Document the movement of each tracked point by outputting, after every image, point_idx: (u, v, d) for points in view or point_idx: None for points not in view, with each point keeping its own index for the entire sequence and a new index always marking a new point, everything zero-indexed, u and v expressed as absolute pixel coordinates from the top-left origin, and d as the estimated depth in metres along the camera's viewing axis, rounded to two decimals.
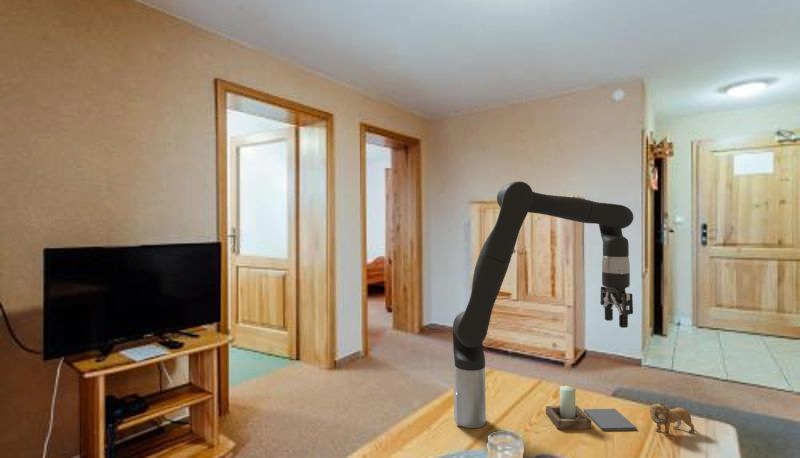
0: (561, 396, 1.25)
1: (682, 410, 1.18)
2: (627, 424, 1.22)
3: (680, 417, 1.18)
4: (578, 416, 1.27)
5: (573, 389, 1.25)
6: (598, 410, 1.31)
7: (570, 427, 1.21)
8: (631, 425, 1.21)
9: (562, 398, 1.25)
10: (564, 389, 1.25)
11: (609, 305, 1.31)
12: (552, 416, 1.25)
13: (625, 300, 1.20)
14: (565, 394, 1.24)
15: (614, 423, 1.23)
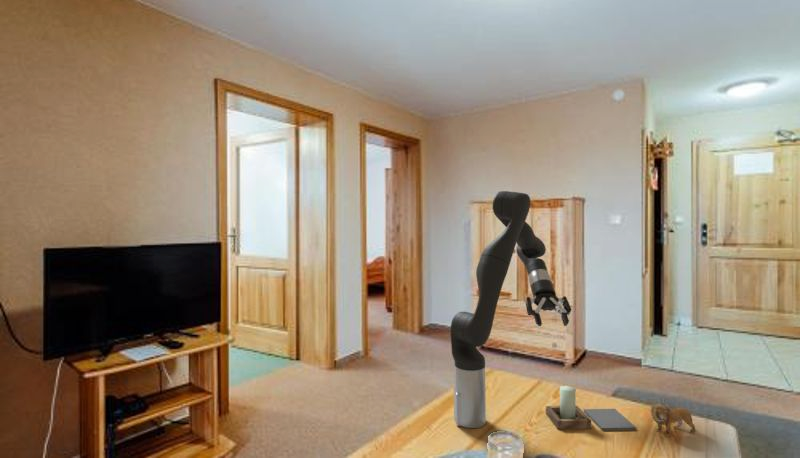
0: (561, 396, 1.25)
1: (683, 410, 1.18)
2: (627, 424, 1.22)
3: (681, 417, 1.18)
4: (578, 416, 1.27)
5: (573, 389, 1.25)
6: (598, 410, 1.31)
7: (570, 427, 1.21)
8: (631, 425, 1.21)
9: (562, 398, 1.25)
10: (564, 389, 1.25)
11: None
12: (552, 416, 1.25)
13: None
14: (565, 394, 1.24)
15: (614, 423, 1.23)
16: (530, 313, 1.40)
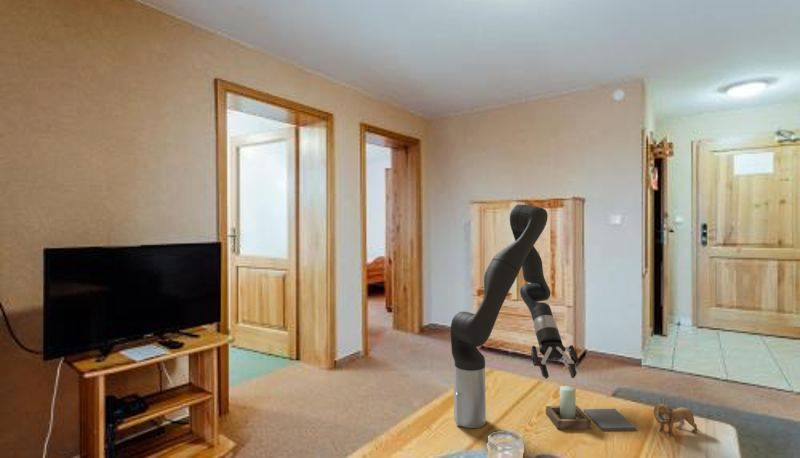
0: (561, 396, 1.25)
1: (685, 410, 1.18)
2: (627, 424, 1.22)
3: (683, 417, 1.18)
4: (578, 416, 1.27)
5: (573, 389, 1.25)
6: (598, 410, 1.31)
7: (570, 427, 1.21)
8: (631, 425, 1.21)
9: (562, 398, 1.25)
10: (564, 389, 1.25)
11: None
12: (552, 416, 1.25)
13: None
14: (565, 394, 1.24)
15: (614, 423, 1.23)
16: (536, 364, 1.34)
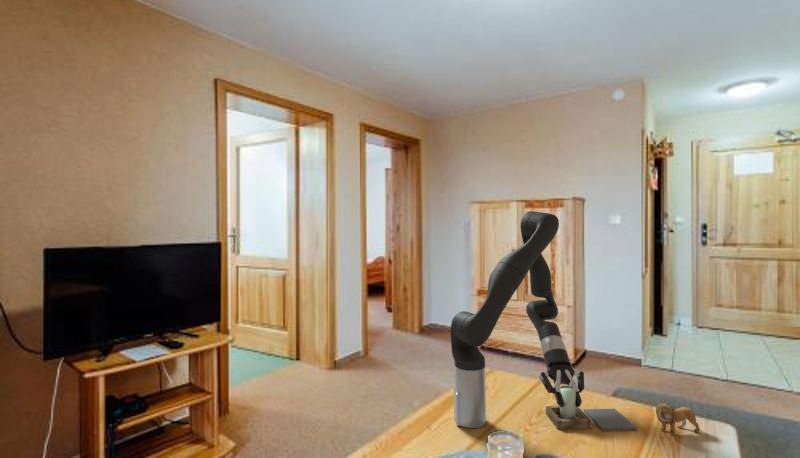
0: None
1: (687, 409, 1.19)
2: (627, 424, 1.22)
3: (685, 416, 1.18)
4: (578, 416, 1.27)
5: (573, 389, 1.25)
6: (598, 410, 1.31)
7: (570, 427, 1.21)
8: (631, 425, 1.21)
9: None
10: (564, 389, 1.25)
11: None
12: (552, 416, 1.25)
13: None
14: (565, 394, 1.24)
15: (614, 423, 1.23)
16: (550, 391, 1.27)
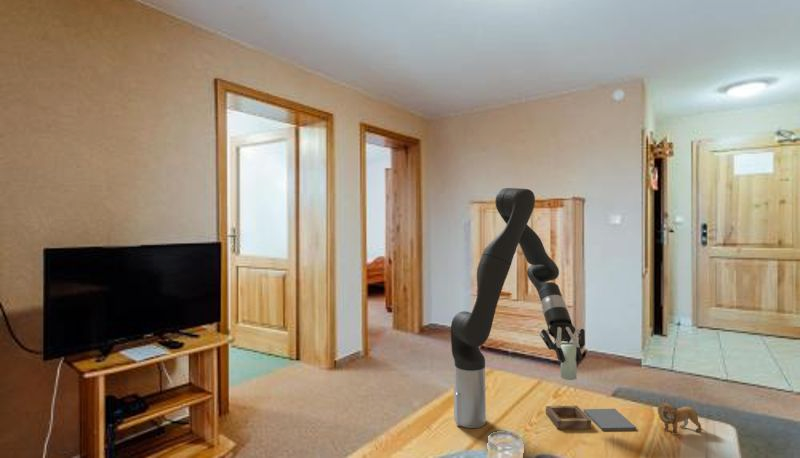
0: None
1: (689, 409, 1.19)
2: (627, 424, 1.22)
3: (687, 416, 1.19)
4: (578, 416, 1.27)
5: (574, 345, 1.25)
6: (598, 410, 1.31)
7: (570, 427, 1.21)
8: (631, 425, 1.21)
9: (563, 353, 1.25)
10: (565, 345, 1.25)
11: None
12: (552, 416, 1.25)
13: None
14: (566, 349, 1.24)
15: (614, 423, 1.23)
16: (551, 347, 1.27)
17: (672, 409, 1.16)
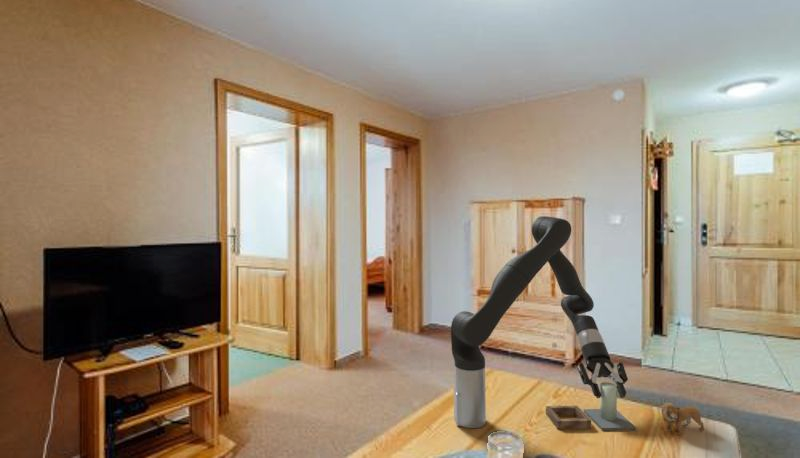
0: (602, 393, 1.25)
1: (692, 408, 1.19)
2: (627, 424, 1.22)
3: (690, 415, 1.19)
4: (578, 416, 1.27)
5: (614, 385, 1.25)
6: (598, 410, 1.31)
7: (570, 427, 1.21)
8: (631, 425, 1.21)
9: (603, 394, 1.25)
10: (605, 386, 1.25)
11: None
12: (552, 416, 1.25)
13: None
14: (606, 391, 1.24)
15: (614, 423, 1.23)
16: (586, 382, 1.27)
17: (675, 409, 1.17)
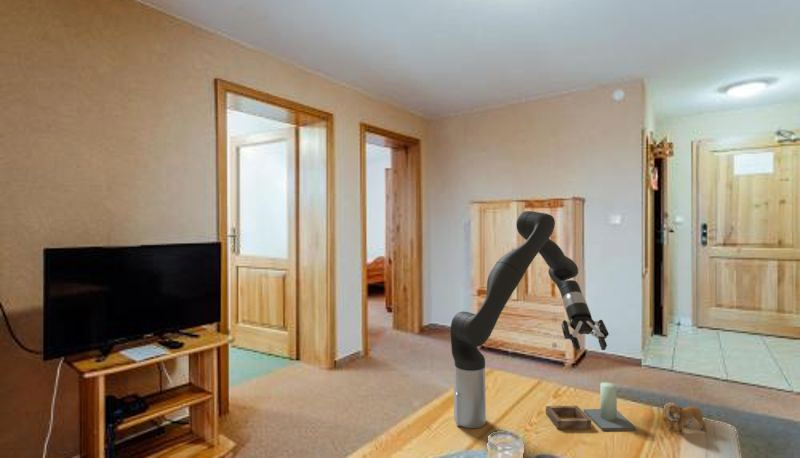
0: (602, 392, 1.25)
1: (694, 408, 1.19)
2: (627, 424, 1.22)
3: (692, 415, 1.19)
4: (578, 416, 1.27)
5: (614, 385, 1.25)
6: (598, 410, 1.31)
7: (570, 427, 1.21)
8: (631, 425, 1.21)
9: (603, 394, 1.25)
10: (605, 385, 1.25)
11: None
12: (552, 416, 1.25)
13: None
14: (606, 390, 1.24)
15: (614, 423, 1.23)
16: (567, 337, 1.40)
17: (678, 408, 1.17)
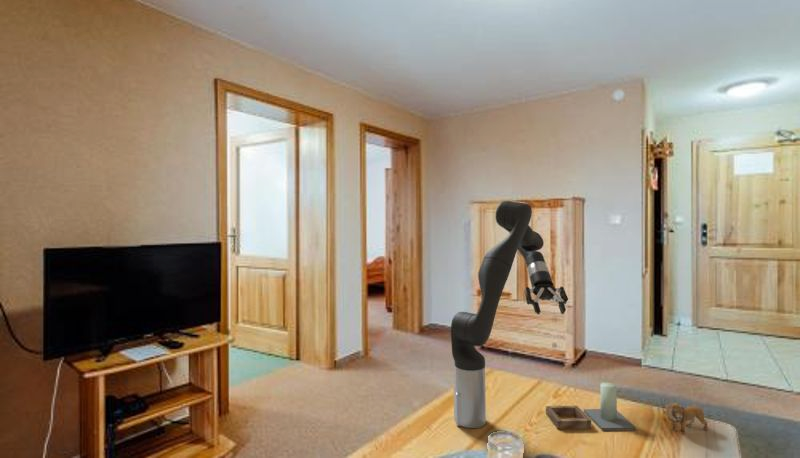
0: (602, 392, 1.25)
1: (696, 408, 1.19)
2: (627, 424, 1.22)
3: (694, 415, 1.19)
4: (578, 416, 1.27)
5: (614, 385, 1.25)
6: (598, 410, 1.31)
7: (570, 427, 1.21)
8: (631, 425, 1.21)
9: (603, 394, 1.25)
10: (605, 385, 1.25)
11: None
12: (552, 416, 1.25)
13: None
14: (606, 390, 1.24)
15: (614, 423, 1.23)
16: (529, 302, 1.48)
17: (680, 408, 1.17)
